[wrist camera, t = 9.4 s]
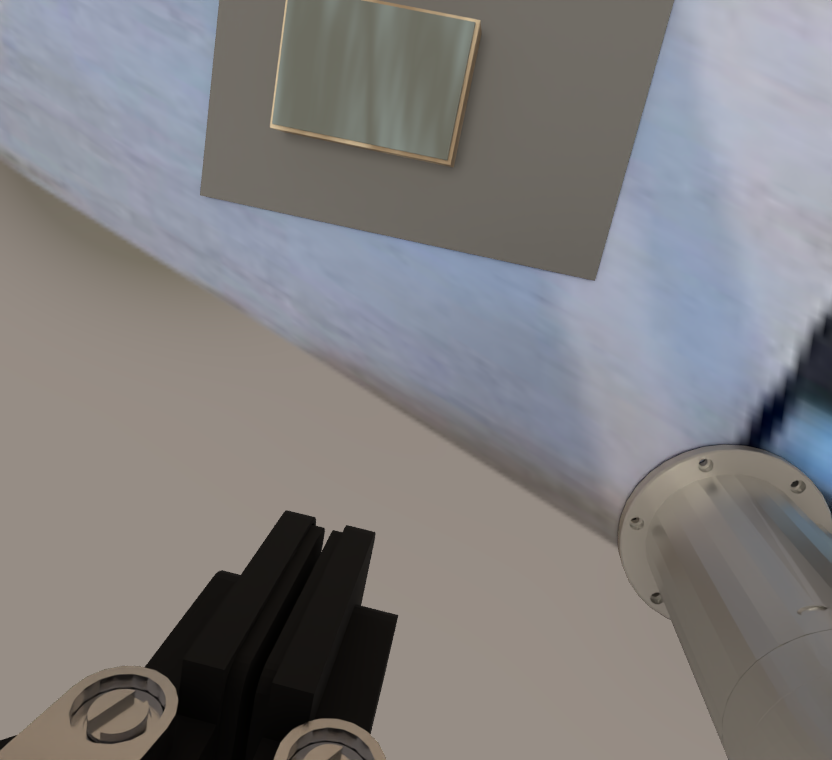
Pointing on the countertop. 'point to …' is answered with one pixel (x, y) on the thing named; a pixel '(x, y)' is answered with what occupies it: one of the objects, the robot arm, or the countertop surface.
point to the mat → (479, 141)
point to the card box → (375, 76)
